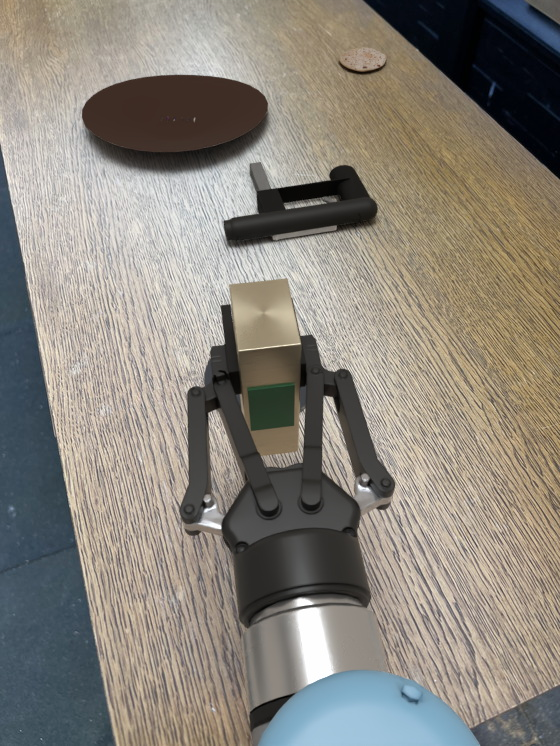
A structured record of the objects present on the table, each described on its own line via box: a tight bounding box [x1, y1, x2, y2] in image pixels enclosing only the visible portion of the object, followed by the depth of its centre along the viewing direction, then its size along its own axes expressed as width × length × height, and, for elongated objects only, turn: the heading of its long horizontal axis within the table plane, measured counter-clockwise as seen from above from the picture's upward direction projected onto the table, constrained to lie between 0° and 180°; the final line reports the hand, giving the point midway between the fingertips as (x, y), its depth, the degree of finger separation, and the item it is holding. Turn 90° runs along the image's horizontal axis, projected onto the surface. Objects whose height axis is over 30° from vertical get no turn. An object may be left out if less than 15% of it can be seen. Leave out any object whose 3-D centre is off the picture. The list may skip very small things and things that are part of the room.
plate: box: [81, 74, 269, 153], centre depth 99 cm, size 28×28×4 cm
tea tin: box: [228, 278, 301, 457], centre depth 47 cm, size 6×4×13 cm, turn 8°
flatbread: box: [338, 46, 388, 73], centre depth 110 cm, size 8×8×1 cm
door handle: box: [222, 161, 379, 242], centre depth 86 cm, size 3×20×16 cm
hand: (257, 314), depth 50 cm, fingers closed on tea tin, 4 cm apart
